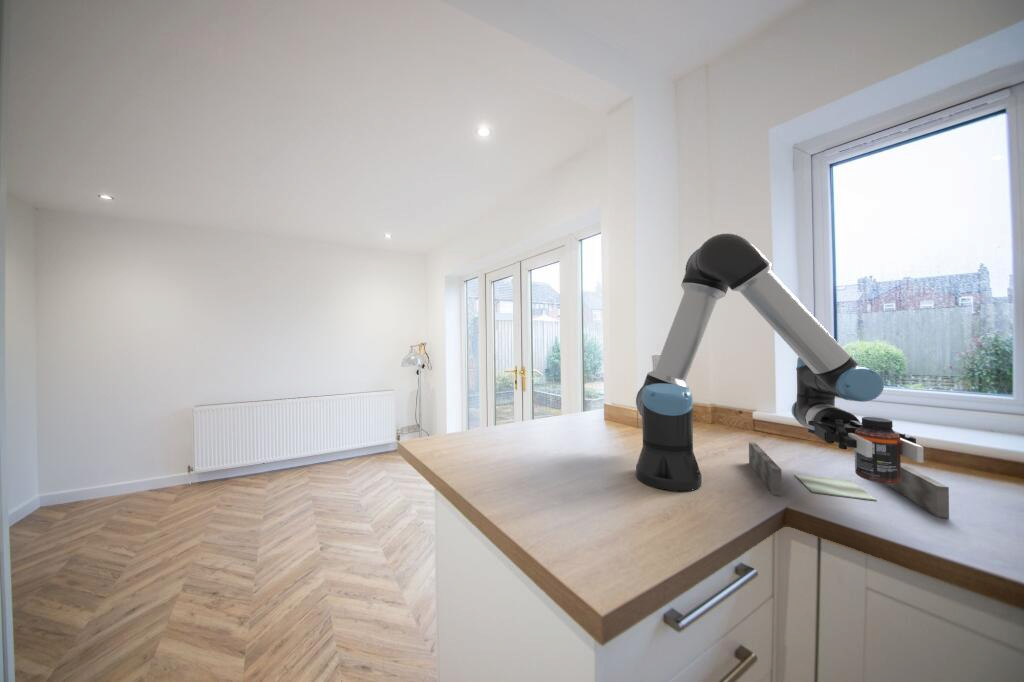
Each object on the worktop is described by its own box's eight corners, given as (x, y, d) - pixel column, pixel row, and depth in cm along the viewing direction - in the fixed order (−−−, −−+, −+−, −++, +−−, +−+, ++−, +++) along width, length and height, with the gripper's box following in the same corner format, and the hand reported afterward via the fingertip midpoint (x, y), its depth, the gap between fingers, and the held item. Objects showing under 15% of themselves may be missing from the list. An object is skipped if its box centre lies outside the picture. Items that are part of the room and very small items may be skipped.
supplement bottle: (879, 473, 68) (879, 415, 68) (911, 486, 62) (911, 422, 62) (845, 472, 69) (846, 414, 68) (874, 484, 63) (874, 421, 63)
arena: (749, 463, 98) (748, 441, 98) (881, 477, 88) (881, 453, 88) (772, 494, 78) (772, 468, 78) (949, 518, 67) (948, 487, 67)
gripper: (885, 443, 78) (971, 482, 57) (783, 434, 85) (825, 465, 64) (886, 410, 78) (972, 436, 57) (783, 404, 85) (825, 425, 64)
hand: (894, 452), depth 61 cm, fingers closed on supplement bottle, 6 cm apart
